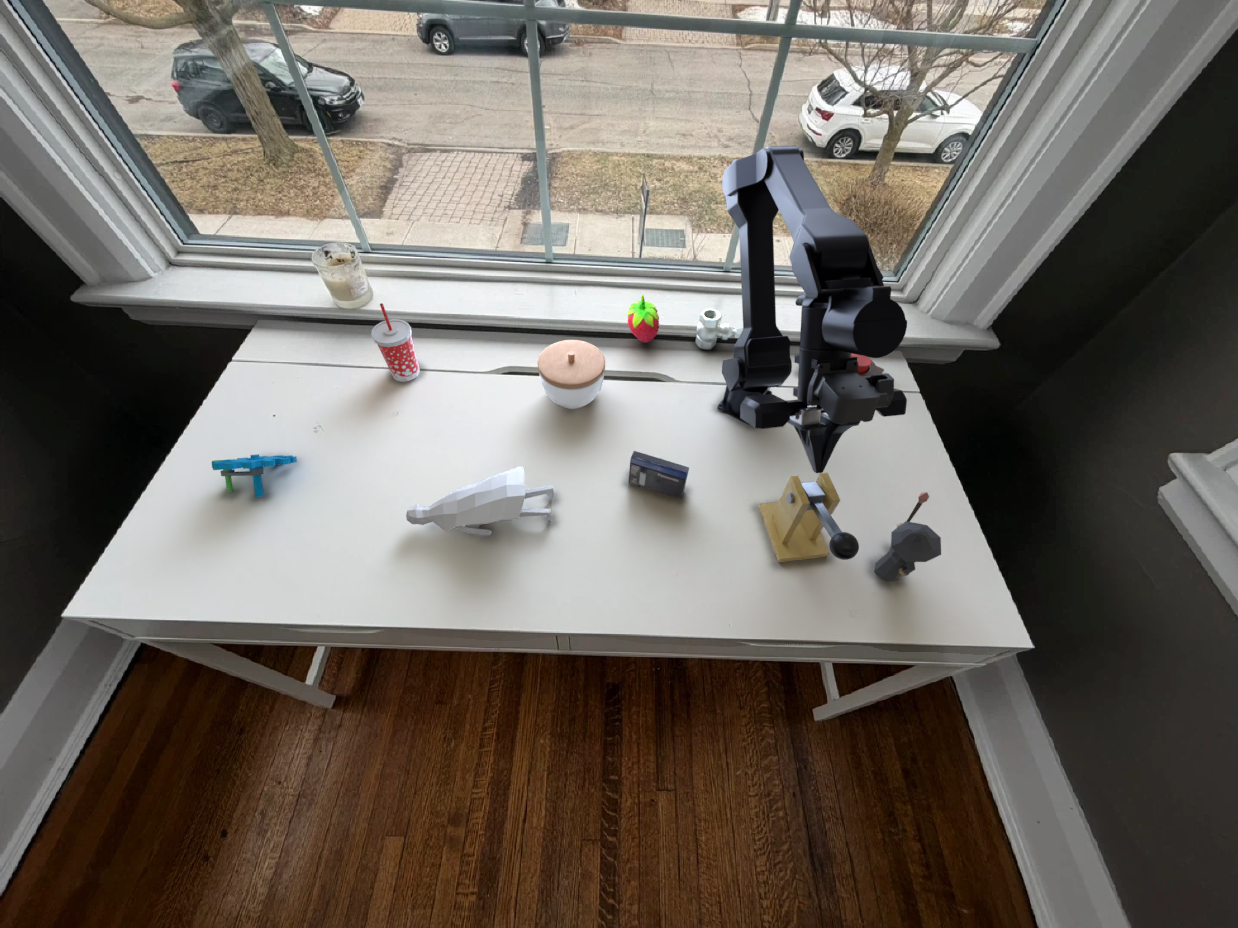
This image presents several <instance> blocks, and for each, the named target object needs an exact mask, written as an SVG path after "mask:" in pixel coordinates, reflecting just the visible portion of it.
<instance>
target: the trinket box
mask: <svg viewBox="0 0 1238 928" xmlns="http://www.w3.org/2000/svg"><path fill="white" fill-rule="evenodd" d="M537 370H538V373H539V380H540V383H541V387H542V388H543V391H544V393H545V395H547V397H548V398H549V400H550V401H553V403H555V404H556V405H558V406H560V407H562V408H565V409H569V410H576V409H577V410H578V409H580V408H583V407H585V406H586V405H588V404H590V403H591V402H592V401H594V400H595V399H596V398H597V396H598V395H599V394H600V392H601V389H602V388H603V384H604V379H605V370H606V359H605V355H604V353H603V352H602V351H601V350H600V349H599V347H597V346H595V345H594V344H592V343H590V342H587V341H585V340H584V341H583V340H579V339H565V340H559V341H556V342H554V343H551V344H550V345H548V346H547V347H545V348H544V349H543V350H542V351H541V352H540V354H539V356H538V358H537Z"/></svg>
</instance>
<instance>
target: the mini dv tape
mask: <svg viewBox="0 0 1238 928" xmlns="http://www.w3.org/2000/svg"><path fill="white" fill-rule="evenodd" d="M628 469H629V471H628V484H629V485H632V486H636V487H638V488H641V487H642V488H645V489H649V490H652V491H655V492H658V493H661V494H664V495H666V496H670V497H674V498H677V499H680V500H682V499H683V495H684V492H685V490H686V485H687V479H688V475H689V471H690V467H689V466H686V465H682V464H679V463H677V462H672V461H670V460H666V459H663V458H659V457H656V456H653V455H650V454H646V453H643V452H640V451H636V450H633V452H632V454H631V456H630V461H629V468H628Z"/></svg>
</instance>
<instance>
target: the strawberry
mask: <svg viewBox="0 0 1238 928" xmlns="http://www.w3.org/2000/svg"><path fill="white" fill-rule="evenodd" d="M658 311H659V310H658V308H657V307H656V306H655V305H654V304H653V303H652V302H650V301H648V300H645V296H644V294H641V295H640V300H638V301H635V302H633V303H631V304H630V306H629V307H628V311H627V315H626V316H627V325H628V328H629V330H630V332H631V333H632V335H633V336H635V338H636V339H637V340H638V341H640V342H641V343H650V342H651V341H653V340H654V339H655V337H656V336H657V335H658V332H659V329H660V326H659V325H660V321H659V320H660V316H659V314H658Z"/></svg>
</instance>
